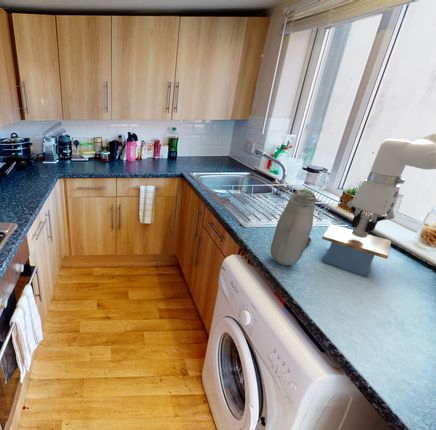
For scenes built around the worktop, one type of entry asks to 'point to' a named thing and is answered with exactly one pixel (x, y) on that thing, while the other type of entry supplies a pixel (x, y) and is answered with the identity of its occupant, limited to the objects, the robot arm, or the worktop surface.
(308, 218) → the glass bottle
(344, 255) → the blue box
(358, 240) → the board
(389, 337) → the worktop surface
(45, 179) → the worktop surface
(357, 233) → the rook chess piece
